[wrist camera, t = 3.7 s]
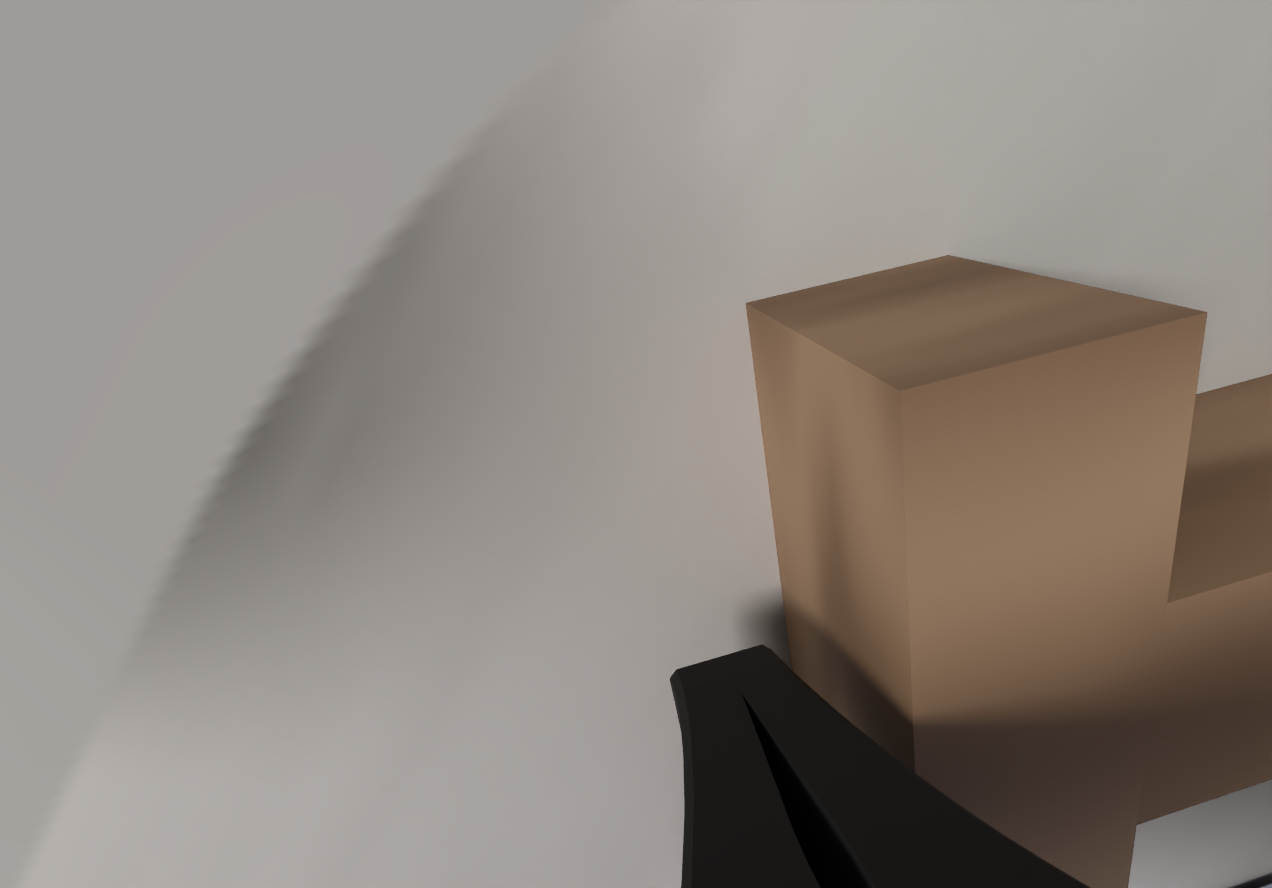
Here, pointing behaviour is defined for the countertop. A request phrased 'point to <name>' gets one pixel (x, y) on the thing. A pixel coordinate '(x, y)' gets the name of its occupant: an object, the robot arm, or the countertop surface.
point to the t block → (1024, 544)
